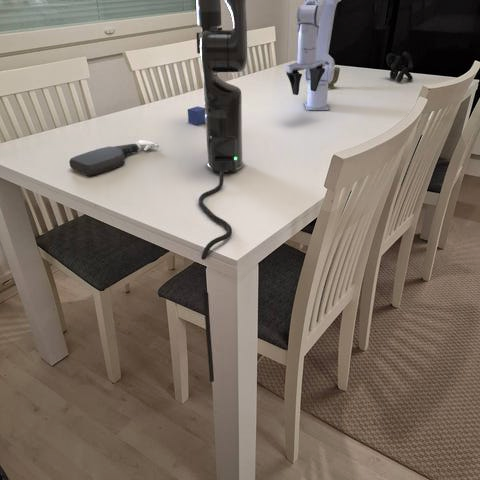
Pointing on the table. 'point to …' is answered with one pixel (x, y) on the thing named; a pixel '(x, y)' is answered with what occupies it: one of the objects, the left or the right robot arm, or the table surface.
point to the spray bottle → (106, 157)
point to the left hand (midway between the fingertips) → (211, 64)
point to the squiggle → (399, 66)
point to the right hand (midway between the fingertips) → (304, 92)
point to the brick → (196, 115)
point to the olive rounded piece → (334, 77)
